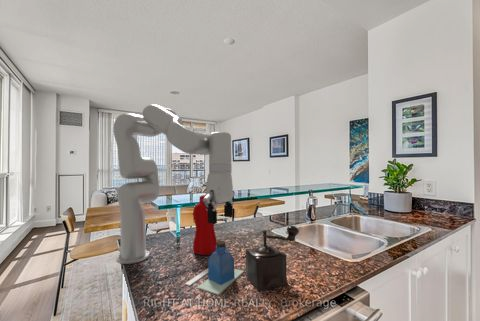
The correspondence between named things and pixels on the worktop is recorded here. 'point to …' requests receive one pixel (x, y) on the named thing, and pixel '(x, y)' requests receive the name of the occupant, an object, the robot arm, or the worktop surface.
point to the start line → (197, 277)
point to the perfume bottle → (221, 264)
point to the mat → (216, 288)
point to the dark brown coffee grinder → (268, 263)
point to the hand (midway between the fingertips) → (220, 219)
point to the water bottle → (203, 230)
